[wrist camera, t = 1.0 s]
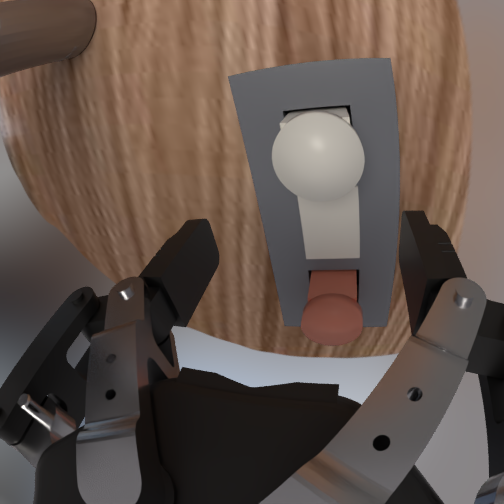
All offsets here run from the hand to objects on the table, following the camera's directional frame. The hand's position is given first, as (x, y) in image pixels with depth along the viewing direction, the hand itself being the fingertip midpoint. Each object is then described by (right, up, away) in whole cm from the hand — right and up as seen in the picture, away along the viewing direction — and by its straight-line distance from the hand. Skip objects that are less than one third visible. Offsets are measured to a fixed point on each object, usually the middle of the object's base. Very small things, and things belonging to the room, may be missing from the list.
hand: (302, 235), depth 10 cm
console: (+7, +6, +19) cm, 21 cm away
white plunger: (+4, +9, +12) cm, 15 cm away
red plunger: (+7, -3, +20) cm, 21 cm away
